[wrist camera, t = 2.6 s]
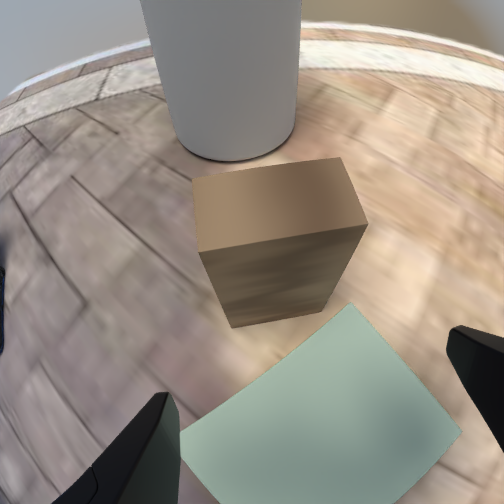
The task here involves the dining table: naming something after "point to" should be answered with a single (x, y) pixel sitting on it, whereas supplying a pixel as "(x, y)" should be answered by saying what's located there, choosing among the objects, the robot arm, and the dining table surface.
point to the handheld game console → (1, 305)
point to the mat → (323, 426)
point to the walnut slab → (276, 237)
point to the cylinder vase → (227, 72)
